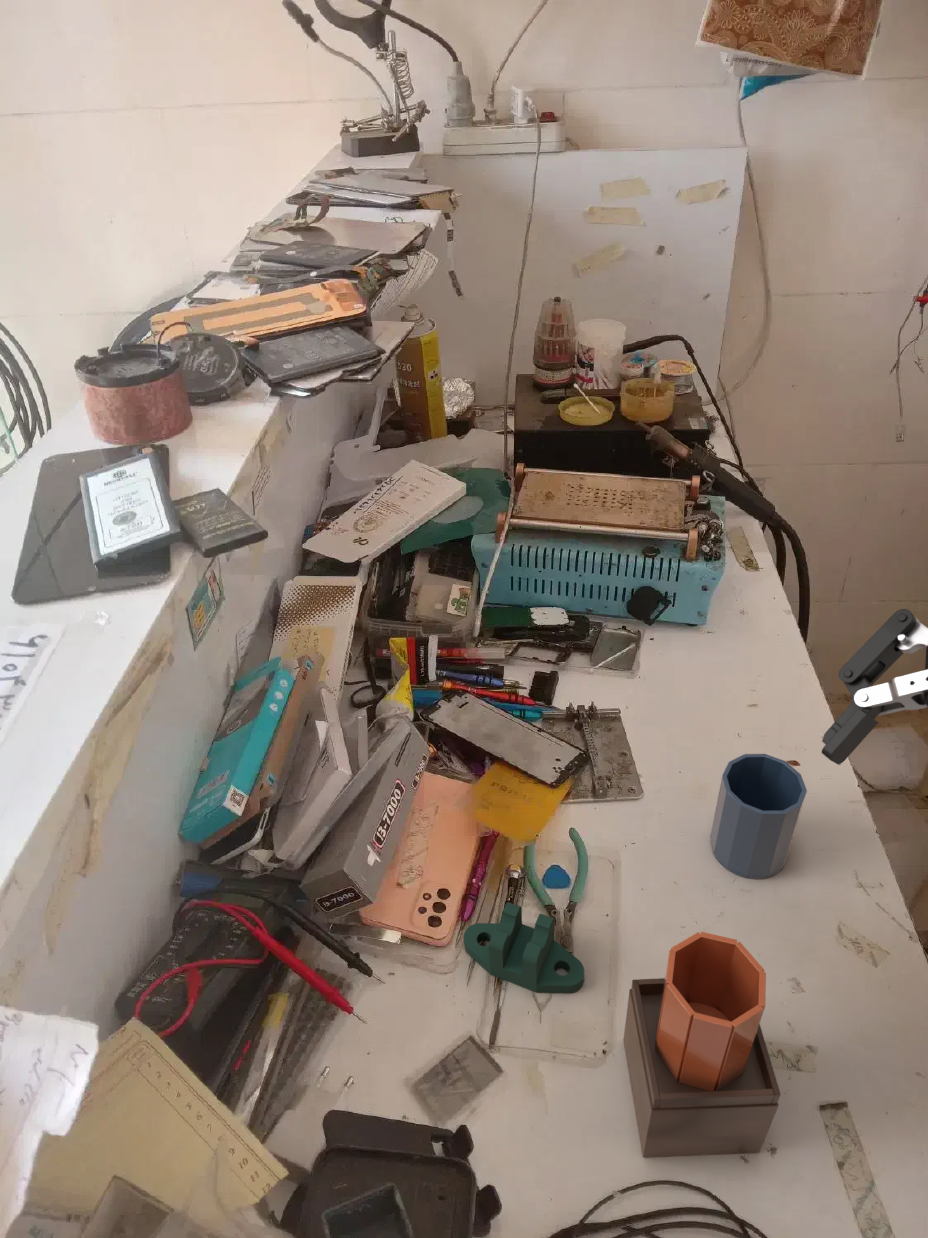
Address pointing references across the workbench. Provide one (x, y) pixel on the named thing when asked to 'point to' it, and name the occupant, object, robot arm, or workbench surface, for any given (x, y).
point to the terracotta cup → (709, 1010)
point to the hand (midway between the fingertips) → (884, 804)
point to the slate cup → (756, 815)
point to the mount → (524, 953)
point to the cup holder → (693, 1092)
